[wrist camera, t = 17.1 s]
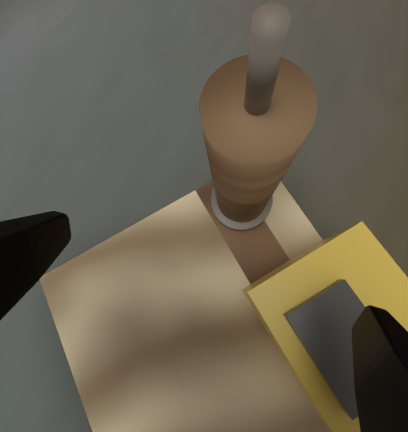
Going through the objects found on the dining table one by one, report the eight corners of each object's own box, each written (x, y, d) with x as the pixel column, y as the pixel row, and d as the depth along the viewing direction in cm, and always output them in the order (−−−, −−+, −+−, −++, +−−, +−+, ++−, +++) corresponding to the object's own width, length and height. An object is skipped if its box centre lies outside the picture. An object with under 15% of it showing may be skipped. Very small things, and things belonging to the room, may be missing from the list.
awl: (277, 222, 17) (431, 81, 4) (219, 237, 17) (189, 148, 4) (260, 168, 18) (342, -95, 5) (205, 183, 18) (143, -31, 5)
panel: (426, 400, 15) (443, 410, 14) (155, 569, 14) (149, 594, 13) (259, 160, 20) (261, 153, 19) (50, 277, 19) (39, 277, 18)
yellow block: (396, 344, 15) (504, 383, 9) (308, 400, 15) (361, 479, 9) (320, 241, 17) (369, 217, 11) (241, 289, 16) (248, 292, 11)
